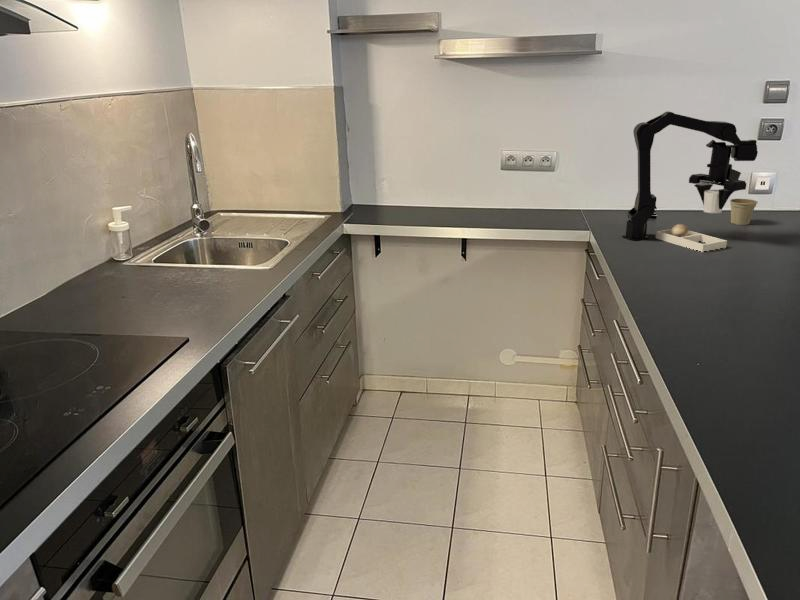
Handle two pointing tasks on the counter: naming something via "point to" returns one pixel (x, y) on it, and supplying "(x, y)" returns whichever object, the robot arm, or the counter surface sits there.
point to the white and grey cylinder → (711, 201)
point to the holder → (692, 240)
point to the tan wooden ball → (679, 230)
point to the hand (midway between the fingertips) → (712, 207)
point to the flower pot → (742, 210)
